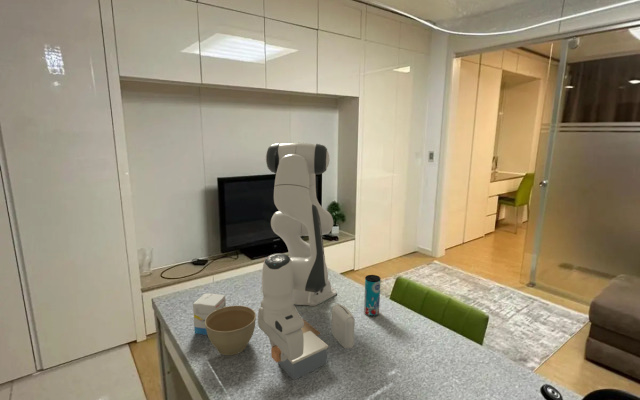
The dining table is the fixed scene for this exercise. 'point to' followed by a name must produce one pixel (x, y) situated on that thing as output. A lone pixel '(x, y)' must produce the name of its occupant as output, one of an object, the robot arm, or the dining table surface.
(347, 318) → the photo printer
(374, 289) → the beverage can
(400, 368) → the dining table surface
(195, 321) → the ink box
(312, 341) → the lid
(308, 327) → the mat
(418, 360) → the dining table surface
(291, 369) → the tub
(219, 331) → the planter bowl
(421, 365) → the dining table surface
